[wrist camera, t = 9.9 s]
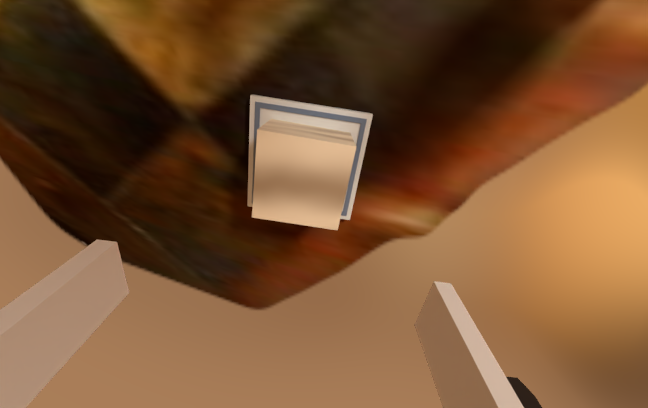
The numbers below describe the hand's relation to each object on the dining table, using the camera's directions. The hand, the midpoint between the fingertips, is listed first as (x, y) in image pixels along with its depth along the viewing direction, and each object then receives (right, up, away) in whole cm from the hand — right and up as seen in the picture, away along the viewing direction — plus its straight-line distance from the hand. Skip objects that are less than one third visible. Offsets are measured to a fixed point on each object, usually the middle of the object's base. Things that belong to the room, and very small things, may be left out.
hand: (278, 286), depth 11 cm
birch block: (0, +8, +17) cm, 19 cm away
